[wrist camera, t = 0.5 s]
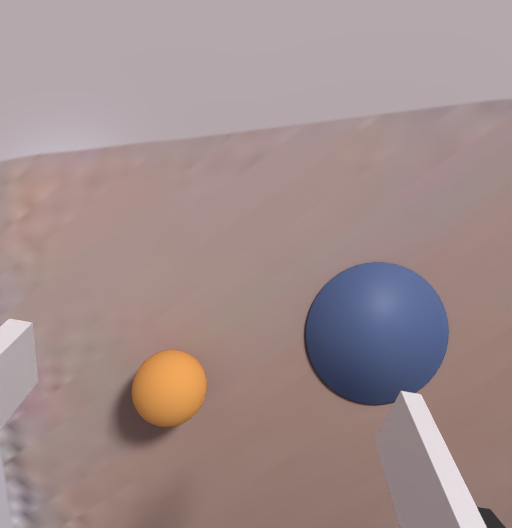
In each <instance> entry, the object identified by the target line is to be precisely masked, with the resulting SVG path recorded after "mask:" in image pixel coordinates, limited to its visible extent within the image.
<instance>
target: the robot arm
mask: <svg viewBox="0 0 512 528" xmlns="http://www.w3.org/2000/svg"><path fill="white" fill-rule="evenodd" d="M37 382H38V377H37V366H36V355H35V344H34V333H33V323H31V322H26V321H20V320H15V319H9V320H7V321H6V322H5V323H4V324H3V325H2V326H1V327H0V429H1V428H2V427H3V425H4V424H5V423H6V422H7V420H8V419H9V418H10V417H11V415H12V414H13V413H14V412H15V410H16V409H17V408H18V406H19V405H20V404H21V403H22V401H23V400H24V399H25V398H26V396H27V395H28V394H29V393H30V391H31V390H32V389H33V388H34V386H35V385H36V384H37ZM374 442H375V445H376V448H377V452H378V455H379V458H380V462H381V465H382V469H383V472H384V475H385V479H386V482H387V485H388V489H389V492H390V495H391V499H392V502H393V506H394V509H395V512H396V516H397V519H398V522H399V526H400V528H505V526H504V525H503V524H502V523H501V522H500V520H499V519H498V518H497V517H496V516H495V514H494V513H493V512H492V511H491V510H490V509H486V508H480V507H476V505H475V503H474V501H473V499H472V497H471V495H470V493H469V491H468V488H467V486H466V484H465V482H464V480H463V478H462V476H461V474H460V472H459V470H458V468H457V466H456V464H455V462H454V460H453V458H452V456H451V454H450V452H449V450H448V448H447V446H446V444H445V442H444V440H443V438H442V436H441V434H440V432H439V430H438V428H437V426H436V424H435V422H434V420H433V418H432V416H431V414H430V412H429V410H428V408H427V406H426V404H425V402H424V400H423V398H422V396H421V394H416V393H411V392H405V391H400V393H399V395H398V397H397V399H396V401H395V403H394V404H393V406H392V408H391V410H390V412H389V414H388V416H387V418H386V420H385V421H384V423H383V425H382V427H381V429H380V431H379V433H378V435H377V436H376V438H375V440H374Z"/></svg>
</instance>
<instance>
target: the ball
mask: <svg viewBox="0 0 512 528" xmlns="http://www.w3.org/2000/svg"><path fill="white" fill-rule="evenodd" d="M206 389H207V382H206V376H205V373H204V370H203V368H202V366H201V365H200V364H199V362H198V361H197V360H196V359H195V358H194V357H192V356H191V355H189V354H187V353H185V352H182V351H177V350H166V351H162V352H159V353H157V354H155V355H153V356H151V357H150V358H148V359H147V360H146V361H145V362H144V363H143V364H142V365H141V366H140V368H139V369H138V371H137V373H136V375H135V377H134V381H133V385H132V398H133V402H134V405H135V408H136V409H137V411H138V413H139V414H140V415H141V416H142V417H143V418H144V419H145V420H146V421H147V422H149V423H151V424H153V425H156V426H160V427H173V426H177V425H180V424H182V423H184V422H186V421H188V420H189V419H191V418H192V417H193V416H194V415H195V414H196V413H197V411H198V410H199V409H200V407H201V406H202V403H203V401H204V399H205V395H206Z"/></svg>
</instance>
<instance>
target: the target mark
mask: <svg viewBox="0 0 512 528" xmlns="http://www.w3.org/2000/svg"><path fill="white" fill-rule="evenodd" d="M448 334H449V330H448V320H447V315H446V312H445V309H444V306H443V304H442V302H441V300H440V298H439V296H438V294H437V293H436V292H435V290H434V289H433V288H432V286H431V285H430V284H429V283H428V282H427V281H426V280H425V279H423V278H422V277H421V276H420V275H418V274H416V273H415V272H413V271H411V270H409V269H407V268H405V267H402V266H399V265H396V264H390V263H379V262H374V263H365V264H361V265H357V266H354V267H352V268H349V269H347V270H345V271H343V272H341V273H339V274H338V275H337V276H335V277H334V278H333V279H331V280H330V281H329V282H328V283H327V284H326V285H325V286H324V287H323V289H322V290H321V291H320V292H319V294H318V295H317V297H316V298H315V300H314V302H313V304H312V306H311V309H310V312H309V315H308V318H307V324H306V345H307V350H308V354H309V357H310V360H311V362H312V364H313V366H314V368H315V370H316V372H317V373H318V375H319V376H320V377H321V379H322V380H323V381H324V382H325V383H326V384H327V385H328V386H329V387H330V388H331V389H332V390H334V391H335V392H336V393H338V394H340V395H341V396H343V397H345V398H347V399H350V400H352V401H356V402H359V403H364V404H376V405H380V404H388V403H393V402H395V401H396V399H397V397H398V395H399V393H400V391H405V392H411V393H416V392H417V391H419V390H420V389H421V388H423V387H424V386H425V385H426V384H427V383H428V382H429V381H430V380H431V378H432V377H433V376H434V375H435V373H436V372H437V370H438V369H439V367H440V365H441V363H442V361H443V359H444V356H445V353H446V349H447V344H448Z"/></svg>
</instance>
